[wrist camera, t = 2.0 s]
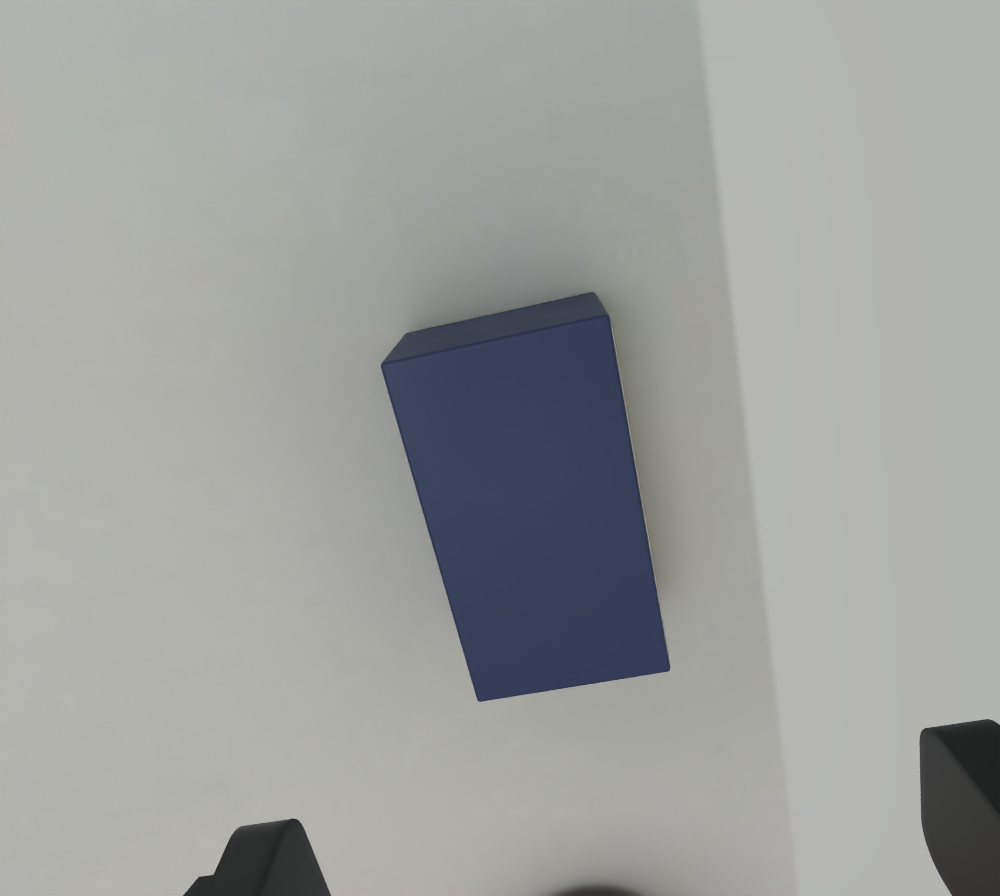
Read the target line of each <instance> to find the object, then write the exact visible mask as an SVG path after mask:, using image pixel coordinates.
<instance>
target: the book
mask: <svg viewBox="0 0 1000 896" xmlns="http://www.w3.org/2000/svg"><path fill="white" fill-rule="evenodd" d="M381 368H382V372H383V375H384V379H385V382H386V386H387V389H388V393H389V396H390V400H391V403H392V407H393V410H394V413H395V417H396V420H397V424H398V427H399V431H400V434H401V438H402V441H403V445H404V448H405V451H406V455H407V458H408V462H409V465H410V469H411V472H412V476H413V479H414V483H415V486H416V490H417V493H418V496H419V500H420V503H421V507H422V510H423V514H424V517H425V521H426V524H427V528H428V531H429V534H430V538H431V541H432V545H433V548H434V552H435V555H436V559H437V562H438V566H439V569H440V572H441V576H442V579H443V583H444V586H445V590H446V593H447V597H448V600H449V604H450V607H451V611H452V614H453V617H454V621H455V624H456V628H457V631H458V635H459V638H460V642H461V645H462V649H463V652H464V655H465V659H466V662H467V666H468V669H469V673H470V676H471V680H472V683H473V687H474V690H475V694H476V697H477V700H478V701H480V702H481V701H487V700H493V699H500V698H506V697H512V696H518V695H524V694H531V693H537V692H543V691H549V690H555V689H562V688H568V687H574V686H580V685H587V684H593V683H599V682H605V681H611V680H618V679H624V678H630V677H636V676H642V675H649V674H655V673H661V672H667V671H670V663H669V651H668V645H667V639H666V634H665V628H664V622H663V616H662V611H661V605H660V599H659V593H658V587H657V582H656V576H655V570H654V564H653V558H652V553H651V547H650V541H649V535H648V529H647V524H646V518H645V512H644V506H643V500H642V495H641V489H640V483H639V477H638V471H637V466H636V460H635V454H634V448H633V443H632V437H631V431H630V425H629V419H628V414H627V408H626V402H625V396H624V390H623V385H622V379H621V373H620V367H619V361H618V356H617V350H616V344H615V338H614V332H613V327H612V324H611V322H610V317H609V315H608V314H607V312H606V311H605V309H604V307H603V306H602V304H601V302H600V301H599V299H598V298H597V296H596V294H595V293H593V292H591V293H587V294H582V295H578V296H573V297H569V298H564V299H560V300H555V301H550V302H546V303H541V304H537V305H532V306H528V307H523V308H519V309H514V310H510V311H505V312H501V313H496V314H492V315H487V316H483V317H478V318H474V319H469V320H465V321H460V322H456V323H451V324H447V325H442V326H438V327H433V328H428V329H424V330H419V331H415V332H410V333H406V334H405V335H404V336H403V337H402V339H401V340H400V341H399V342H398V344H397V345H396V346H395V347H394V349H393V350H392V351H391V352H390V354H389V355H388V356H387V357H386V359H385V360H384V361H383V362H382V364H381Z"/></svg>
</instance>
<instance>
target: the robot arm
mask: <svg viewBox="0 0 1000 896" xmlns="http://www.w3.org/2000/svg"><path fill="white" fill-rule="evenodd" d="M920 779H921V780H920V781H921V820H922V827H923V832H924V836H925V840H926V843H927V846H928V849H929V852H930V854H931V857H932V860H933V862H934V864H935V866H936V868H937V870H938V872H939V874H940V876H941V878H942V880H943V881H944V883H945V885H946V886H947V888H948V889H949V891H950V893H951V894H952V896H1000V725H999V724H998V723H996V722H994V721H992V720H989V719H986V720H979V721H972V722H966V723H958V724H952V725H945V726H938V727H931V728H925V729H923V730H922V732H921V735H920ZM183 896H331V895H330V892H329V890H328V887H327V885H326V882H325V880H324V877H323V875H322V872H321V870H320V867H319V865H318V862H317V860H316V857H315V855H314V852H313V850H312V847H311V845H310V842H309V840H308V837H307V835H306V832H305V830H304V828H303V826H302V824H301V823H300V822H299V821H298V820H297V819H288V820H281V821H275V822H268V823H261V824H254V825H247V826H241V827H239V828H238V829H237V830H235V832H234V833H233V834H232V836H231V838H230V840H229V842H228V844H227V846H226V848H225V851H224V853H223V855H222V857H221V860H220V862H219V864H218V866H217V868H216V871H215V873H214V875H210V876H203V877H198V879H197V880H196V881H195V882H194V883H193V885H192V886H191V887H190V888H189V889H188V891H187V892H186V893H185V894H184V895H183Z"/></svg>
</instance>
